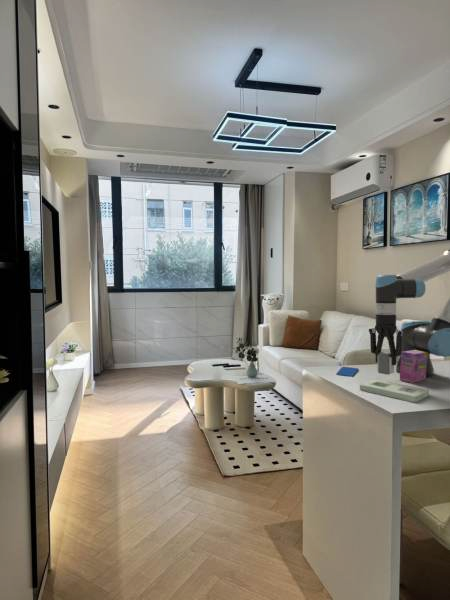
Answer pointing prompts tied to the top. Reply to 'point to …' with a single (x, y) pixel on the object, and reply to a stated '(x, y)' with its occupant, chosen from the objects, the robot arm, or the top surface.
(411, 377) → the box
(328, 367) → the top surface
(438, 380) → the top surface
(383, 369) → the block
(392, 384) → the outlet plate
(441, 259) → the robot arm
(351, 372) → the smartphone
